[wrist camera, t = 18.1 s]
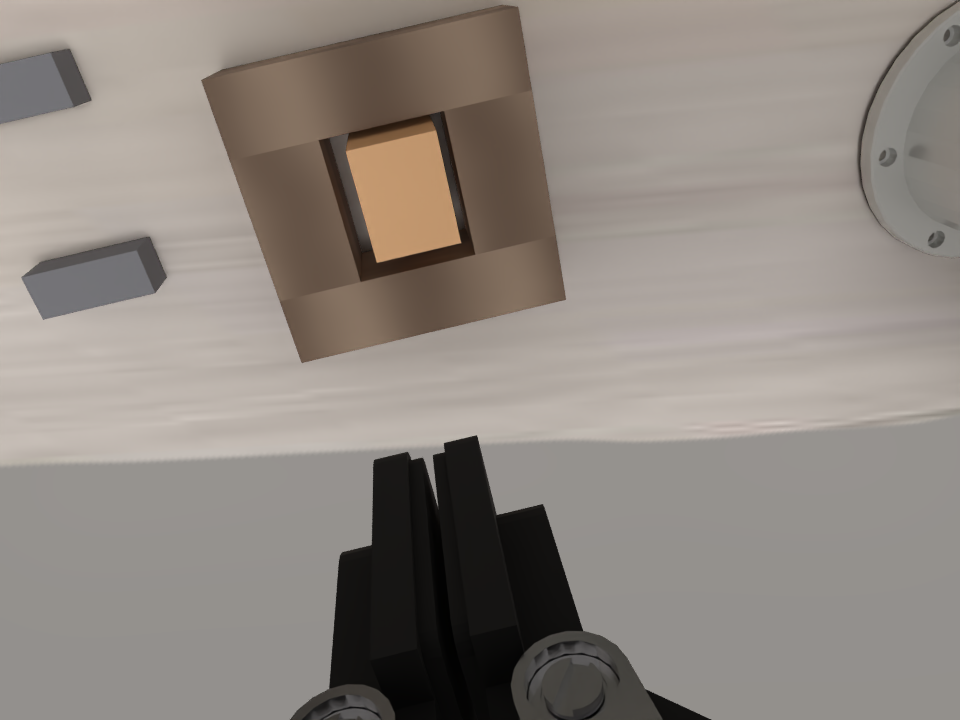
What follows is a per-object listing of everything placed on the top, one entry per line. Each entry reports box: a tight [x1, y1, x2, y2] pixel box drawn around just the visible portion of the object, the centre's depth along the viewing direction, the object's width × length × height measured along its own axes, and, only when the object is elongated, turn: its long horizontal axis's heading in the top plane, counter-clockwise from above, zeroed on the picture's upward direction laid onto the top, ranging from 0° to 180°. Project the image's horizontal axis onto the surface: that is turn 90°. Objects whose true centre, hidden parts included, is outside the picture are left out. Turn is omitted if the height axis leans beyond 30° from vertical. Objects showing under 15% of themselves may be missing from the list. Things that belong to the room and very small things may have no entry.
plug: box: [346, 114, 461, 263], centre depth 31 cm, size 3×4×6 cm
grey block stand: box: [0, 49, 167, 320], centre depth 32 cm, size 5×10×2 cm, turn 12°
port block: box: [201, 5, 566, 363], centre depth 32 cm, size 12×12×4 cm
